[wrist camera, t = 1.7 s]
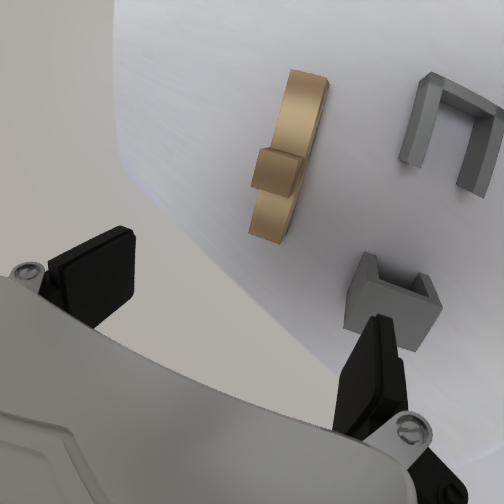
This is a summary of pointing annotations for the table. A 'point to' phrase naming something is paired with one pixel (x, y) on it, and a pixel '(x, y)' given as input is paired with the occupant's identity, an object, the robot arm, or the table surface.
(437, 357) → the table surface
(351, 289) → the channel bracket
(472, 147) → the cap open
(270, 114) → the table surface
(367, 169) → the table surface
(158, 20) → the table surface
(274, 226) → the slat
